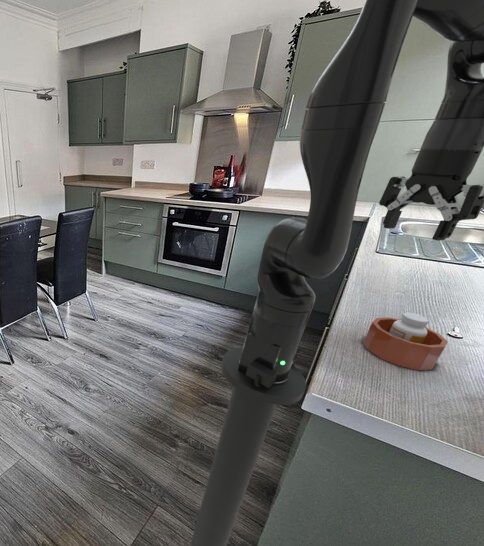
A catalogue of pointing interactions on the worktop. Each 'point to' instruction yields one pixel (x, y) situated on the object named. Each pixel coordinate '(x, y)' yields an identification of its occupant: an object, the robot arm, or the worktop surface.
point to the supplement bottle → (410, 327)
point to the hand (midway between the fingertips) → (412, 233)
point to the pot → (403, 346)
